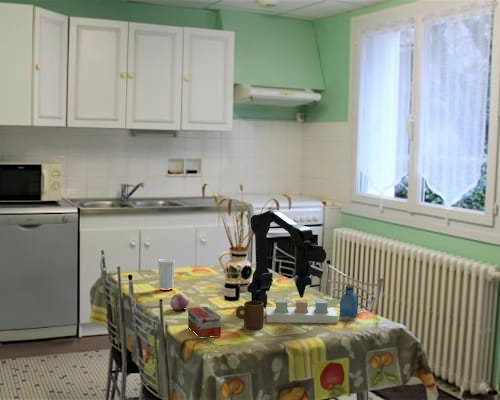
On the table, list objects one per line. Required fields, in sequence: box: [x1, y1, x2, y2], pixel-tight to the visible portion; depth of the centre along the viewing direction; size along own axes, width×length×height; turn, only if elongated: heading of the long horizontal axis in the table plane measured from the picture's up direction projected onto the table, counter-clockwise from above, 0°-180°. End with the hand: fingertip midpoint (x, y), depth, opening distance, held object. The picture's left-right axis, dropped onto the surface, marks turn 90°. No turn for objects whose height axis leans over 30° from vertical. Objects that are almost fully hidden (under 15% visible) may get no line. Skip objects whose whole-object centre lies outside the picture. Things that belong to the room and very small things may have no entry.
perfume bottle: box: [339, 285, 359, 319], centre depth 271 cm, size 6×6×12 cm
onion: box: [169, 293, 190, 311], centre depth 276 cm, size 8×8×7 cm
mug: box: [235, 300, 265, 330], centre depth 251 cm, size 12×8×9 cm, turn 127°
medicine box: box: [187, 306, 222, 338], centre depth 245 cm, size 15×8×8 cm, turn 24°
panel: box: [265, 306, 339, 324], centre depth 266 cm, size 28×12×3 cm, turn 90°
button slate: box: [314, 299, 329, 313], centre depth 265 cm, size 4×4×4 cm
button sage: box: [275, 299, 288, 312], centre depth 265 cm, size 4×4×4 cm
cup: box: [157, 258, 176, 289], centre depth 310 cm, size 8×8×14 cm
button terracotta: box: [295, 299, 308, 313], centre depth 265 cm, size 4×4×4 cm
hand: (301, 297), depth 265 cm, fingers closed
